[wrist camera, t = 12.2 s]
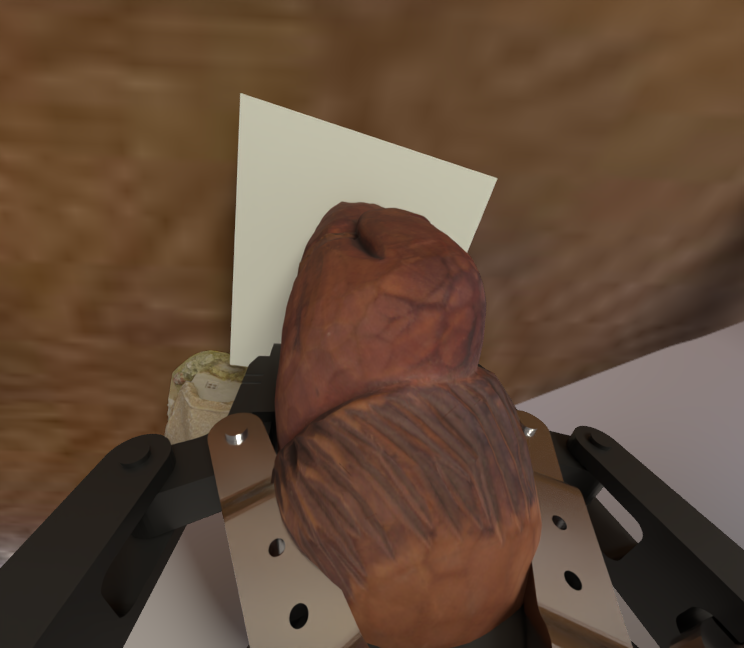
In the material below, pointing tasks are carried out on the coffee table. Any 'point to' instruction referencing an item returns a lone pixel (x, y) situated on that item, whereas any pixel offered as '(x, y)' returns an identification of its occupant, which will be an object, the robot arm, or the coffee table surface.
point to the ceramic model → (201, 394)
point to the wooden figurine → (401, 434)
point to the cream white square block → (322, 204)
